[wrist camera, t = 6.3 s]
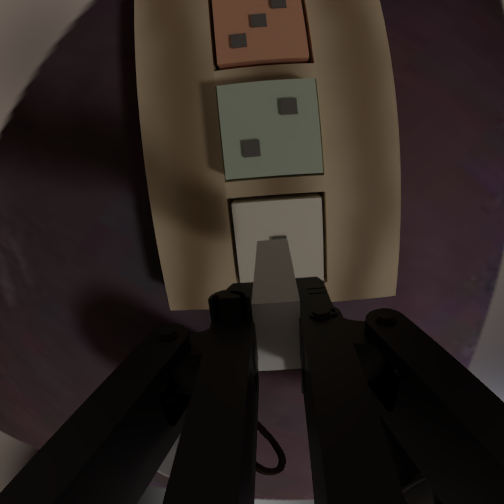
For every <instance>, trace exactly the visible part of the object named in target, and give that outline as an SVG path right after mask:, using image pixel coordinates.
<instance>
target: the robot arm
mask: <svg viewBox="0 0 504 504" xmlns="http://www.w3.org/2000/svg"><path fill="white" fill-rule="evenodd" d="M208 304H209V309H210V315H211V321H212V322H211V326H210V329H208V330H205V331H202V332H199V333H194V334H188V330H187V328H185V327H184V326H182V325H178V324H167V325H163V326H161V327H159V328H156V329H155V330H153V331H152V332H151V333H150V334H149V335H148V336H147V337H146V338H145V339H144V340H143V341H142V342H141V343H140V344H139V345H138V346H137V347H136V348H135V349H134V350H133V351H132V352H131V353H130V355H129V356H128V357H127V358H126V359H125V360H124V361H123V362H122V363H121V364H120V365H119V366H118V367H117V368H116V369H115V370H114V371H113V372H112V373H111V374H110V375H109V376H108V377H107V379H106V380H105V381H104V382H103V383H102V384H101V385H100V386H99V387H98V388H97V389H96V390H95V391H94V392H93V393H92V394H91V395H90V396H89V398H88V399H87V400H86V401H85V402H84V403H83V404H82V405H81V406H80V407H79V408H78V409H77V410H76V411H75V412H74V413H73V414H72V416H71V417H70V418H69V419H68V420H67V421H66V422H65V423H64V424H63V425H62V426H61V427H60V428H59V429H58V431H57V432H56V433H55V434H54V435H53V436H52V437H51V438H50V439H49V440H48V441H47V442H46V443H45V445H44V446H43V447H42V448H41V449H40V450H39V451H38V452H37V453H36V454H35V455H34V456H33V458H32V459H31V460H30V461H29V462H28V463H27V464H26V465H25V466H24V467H23V468H22V470H21V471H20V472H19V473H18V474H17V475H16V476H15V477H14V478H13V480H12V481H11V482H10V483H9V484H8V485H7V486H6V487H5V488H4V489H3V491H2V492H1V493H0V504H137V502H138V501H139V499H140V498H141V496H142V495H143V493H144V492H145V490H146V488H147V487H148V485H149V484H150V482H151V480H152V479H153V477H154V476H155V474H156V472H157V471H158V469H159V468H160V466H161V464H162V463H163V461H164V459H165V458H166V456H167V455H168V453H169V451H170V450H171V448H172V446H173V445H174V443H175V441H176V440H177V438H178V437H179V435H180V433H181V435H180V438H179V442H178V446H177V450H176V453H175V457H174V461H173V465H172V469H171V473H170V477H169V480H168V484H167V488H166V492H165V496H164V500H163V504H254V495H255V473H256V449H257V423H258V396H259V376H258V370H259V371H270V370H286V369H299V368H301V372H302V393H303V394H304V403H305V412H306V421H307V430H308V440H309V450H310V460H311V470H312V481H313V492H314V504H408V503H407V502H406V500H405V498H404V495H403V492H402V488H401V485H400V481H399V478H398V474H397V471H396V468H395V464H394V461H393V458H392V455H391V451H390V448H389V445H388V442H387V439H386V436H385V433H384V429H383V426H382V423H381V420H380V417H379V414H380V415H381V417H382V418H383V420H384V421H385V422H386V424H387V425H388V427H389V428H390V429H391V431H392V432H393V434H394V435H395V436H396V438H397V439H398V441H399V442H400V443H401V445H402V446H403V448H404V449H405V451H406V452H407V453H408V455H409V456H410V458H411V459H412V460H413V462H414V463H415V465H416V466H417V467H418V469H419V470H420V472H421V473H422V475H423V476H424V477H425V479H426V480H427V482H428V483H429V485H430V486H431V487H432V489H433V490H434V492H435V493H436V494H437V496H438V497H439V499H440V500H441V502H442V503H443V504H504V402H503V401H501V399H500V398H499V397H497V396H496V395H495V394H494V393H493V392H492V391H491V390H490V389H488V387H486V386H485V385H484V384H483V383H482V382H481V381H480V380H479V379H478V378H476V377H475V376H474V375H473V374H472V373H471V372H470V371H469V370H468V369H466V368H465V367H464V366H463V365H462V364H461V363H460V362H458V361H457V360H456V359H455V358H454V357H453V356H452V355H450V354H449V353H448V352H447V351H446V350H445V349H444V348H442V347H441V346H440V345H439V344H438V343H437V342H435V341H434V340H433V339H432V338H431V337H430V336H428V335H427V334H426V333H425V332H424V331H422V330H421V329H420V328H419V327H418V326H416V325H415V324H414V323H413V322H412V321H410V320H409V319H408V318H407V317H406V316H404V315H403V314H402V313H400V312H398V311H396V310H392V309H388V308H387V309H386V308H381V309H376V310H373V311H371V312H369V313H368V314H367V315H366V320H365V321H354V320H348V319H345V318H343V316H342V313H341V312H340V311H339V309H337V308H335V307H333V305H332V302H331V299H330V297H329V294H328V291H327V289H326V286H325V284H324V281H323V280H321V279H320V278H318V277H317V276H316V277H303V278H295V274H294V269H293V264H292V259H291V254H290V250H289V245H288V240H287V239H277V240H264V241H257V248H256V259H255V270H254V281H253V282H246V283H233V284H231V285H230V286H229V287H228V288H227V289H226V290H222V291H219V292H216V293H214V294H212V295H211V296H210V297H209V298H208ZM378 413H379V414H378Z"/></svg>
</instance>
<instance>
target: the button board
mask: <svg viewBox="0 0 504 504" xmlns="http://www.w3.org/2000/svg"><path fill="white" fill-rule="evenodd" d="M301 3H302V10H303V16H304V22H305V29H306V36H307V43H308V51H309V59H308V62H307V63H301V64H280V65H265V66H254V67H244V68H235V69H227V70H220V68H219V66H218V65H217V54H216V43H215V31H214V20H213V8H212V0H134V32H135V60H136V78H137V93H138V106H139V117H140V128H141V137H142V146H143V155H144V163H145V171H146V178H147V185H148V192H149V199H150V206H151V212H152V218H153V224H154V230H155V236H156V241H157V247H158V252H159V258H160V263H161V268H162V273H163V278H164V283H165V287H166V292H167V297H168V301H169V306H170V310H203V309H209V304H208V298H209V297H210V296H211V295H212V294H214V293H216V292H219V291H222V290H226V289H227V288H228V287H229V286H230V285H231V284H233V283H240V276H239V267H238V259H237V250H236V241H235V232H234V223H233V214H232V205H231V204H232V202H233V198H240V197H252V196H264V195H278V194H292V193H308V192H319V195H320V196H321V198H322V221H323V259H324V284H325V286H326V289H327V291H328V294H329V297H330V299H331V302H337V301H348V300H359V299H369V298H379V297H388V296H395V294H396V284H397V272H398V259H399V241H400V212H401V176H400V147H399V130H398V116H397V105H396V95H395V87H394V78H393V71H392V64H391V57H390V51H389V45H388V39H387V34H386V28H385V23H384V18H383V14H382V9H381V4H380V0H301ZM305 78H315V83H316V93H317V102H318V113H319V124H320V135H321V148H322V163H323V173H309V174H292V175H278V176H264V177H252V178H241V179H230V180H226V176H225V166H224V157H223V147H222V137H221V127H220V117H219V107H218V97H217V86H220V85H228V84H237V83H246V82H256V81H268V80H283V79H305Z"/></svg>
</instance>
